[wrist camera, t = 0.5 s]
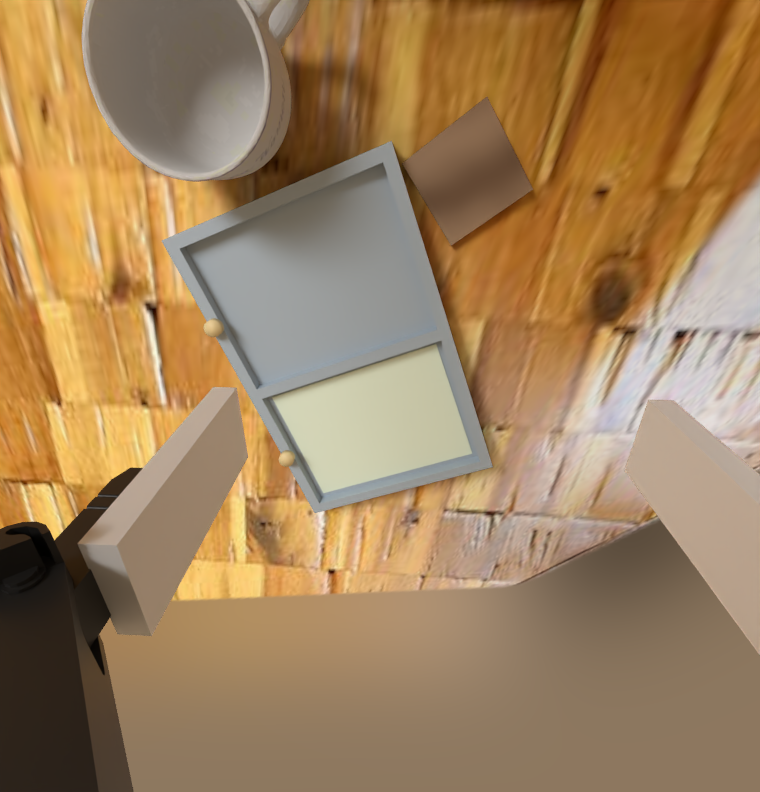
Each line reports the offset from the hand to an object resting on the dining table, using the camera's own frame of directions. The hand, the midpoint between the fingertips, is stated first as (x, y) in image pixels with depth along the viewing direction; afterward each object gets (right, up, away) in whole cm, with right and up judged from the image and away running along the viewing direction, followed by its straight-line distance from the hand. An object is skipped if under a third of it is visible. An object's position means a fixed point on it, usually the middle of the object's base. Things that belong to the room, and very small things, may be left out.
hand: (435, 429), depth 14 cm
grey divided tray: (-5, +5, +25) cm, 26 cm away
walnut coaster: (+5, +18, +19) cm, 26 cm away
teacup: (-11, +23, +16) cm, 31 cm away
